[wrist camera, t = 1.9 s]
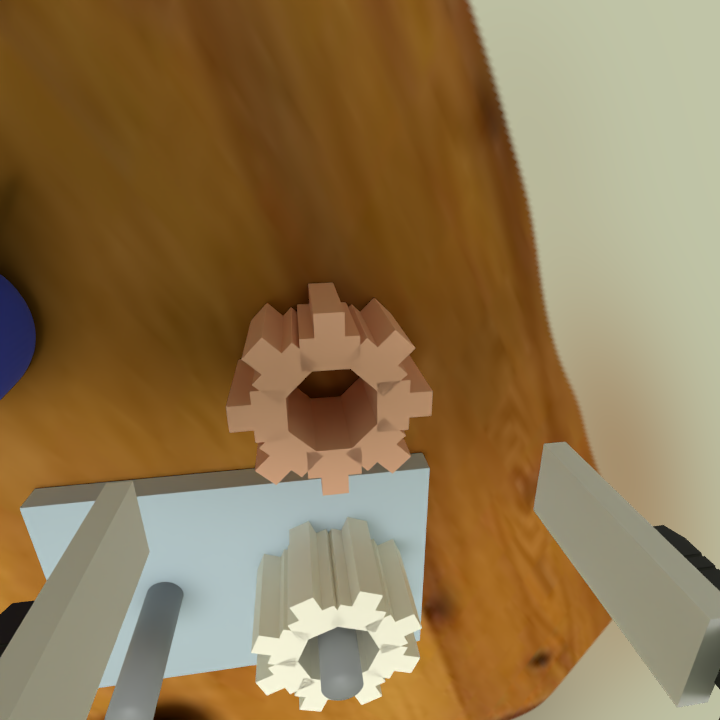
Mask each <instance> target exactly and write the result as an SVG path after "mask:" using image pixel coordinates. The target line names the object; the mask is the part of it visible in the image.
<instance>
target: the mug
mask: <svg viewBox="0 0 720 720" xmlns="http://www.w3.org/2000/svg"><path fill="white" fill-rule="evenodd" d="M35 343H36V332H35V325H34V321H33V317H32V315H31V312H30V310H29V308H28V306H27V304H26V302H25V300H24V299H23V297H22V296H21V294H20V293H19V292H18V290H17V289H16V288H15V287H14V286H13V285H12V284H11V283H10V282H9V281H8V280H7V279H6V278H5V277H4V276H2V275H1V274H0V400H1V399H2V398H3V397H4V396H5V395H6V394H7V392H8V391H9V390H10V389H11V388H12V387H13V386H14V385H15V384H16V383H17V382H18V381H19V380H20V379H21V377H22V376H23V375H24V373H25V371H26V370H27V368H28V366H29V364H30V362H31V360H32V357H33V354H34V350H35Z"/></svg>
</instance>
